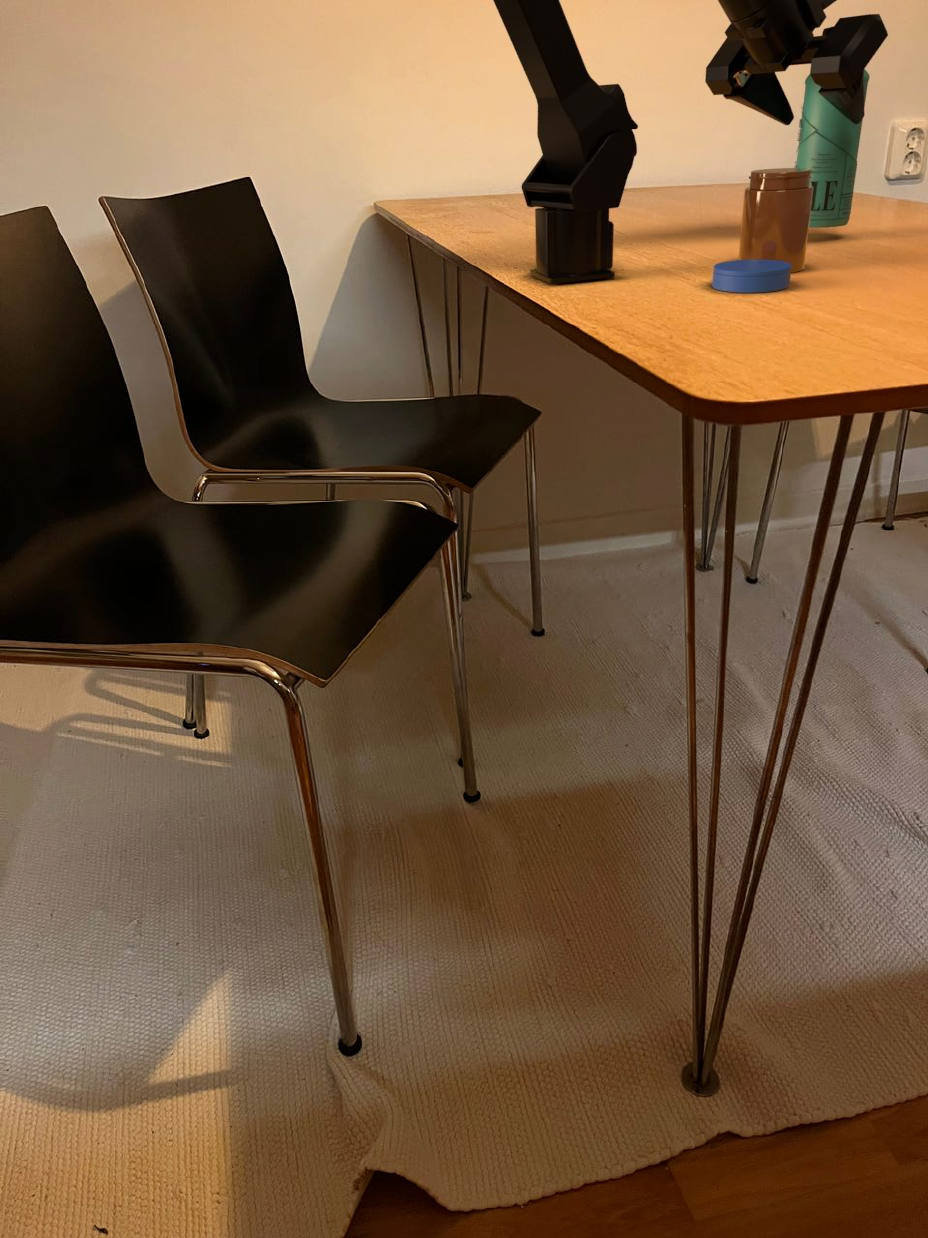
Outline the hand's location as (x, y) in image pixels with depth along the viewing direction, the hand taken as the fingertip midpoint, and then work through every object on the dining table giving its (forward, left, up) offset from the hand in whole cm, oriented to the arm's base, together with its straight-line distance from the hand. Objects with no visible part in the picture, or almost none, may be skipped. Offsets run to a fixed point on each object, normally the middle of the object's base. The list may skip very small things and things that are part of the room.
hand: (824, 120), depth 96 cm
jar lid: (-19, -21, -10) cm, 30 cm away
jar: (-13, -14, -12) cm, 22 cm away
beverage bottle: (+1, 0, -12) cm, 12 cm away
